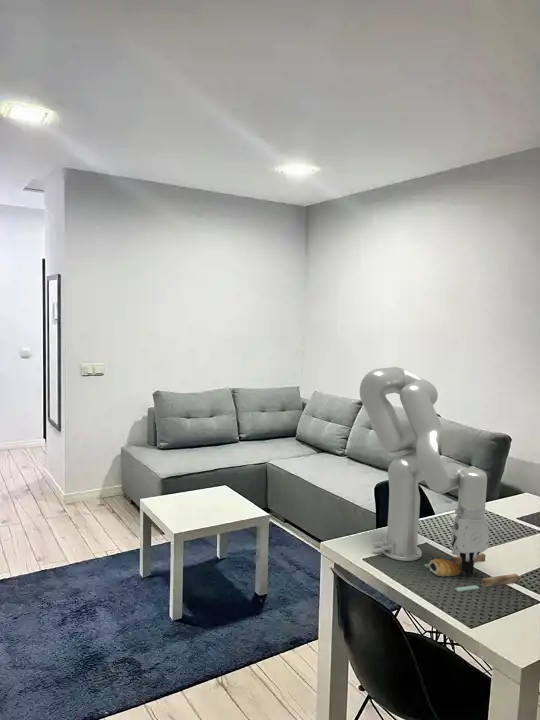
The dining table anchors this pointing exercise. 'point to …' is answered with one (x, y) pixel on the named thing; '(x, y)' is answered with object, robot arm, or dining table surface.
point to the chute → (491, 580)
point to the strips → (461, 587)
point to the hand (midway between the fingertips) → (467, 572)
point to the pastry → (444, 567)
